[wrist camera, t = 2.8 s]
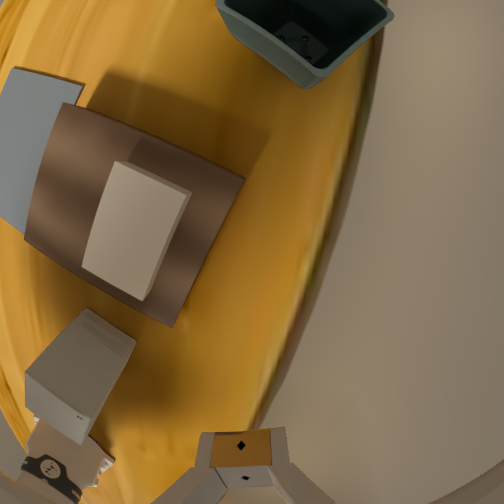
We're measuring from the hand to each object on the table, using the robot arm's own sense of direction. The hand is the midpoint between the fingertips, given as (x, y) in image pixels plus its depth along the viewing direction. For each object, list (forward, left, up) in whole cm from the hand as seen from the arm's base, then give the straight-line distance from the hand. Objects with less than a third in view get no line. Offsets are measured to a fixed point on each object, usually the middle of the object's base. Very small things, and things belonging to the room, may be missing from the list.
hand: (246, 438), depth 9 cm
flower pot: (+20, +6, -19) cm, 28 cm away
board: (0, +13, -19) cm, 23 cm away
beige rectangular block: (0, +10, -15) cm, 18 cm away
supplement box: (-17, +11, -19) cm, 28 cm away
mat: (0, +31, -19) cm, 36 cm away
